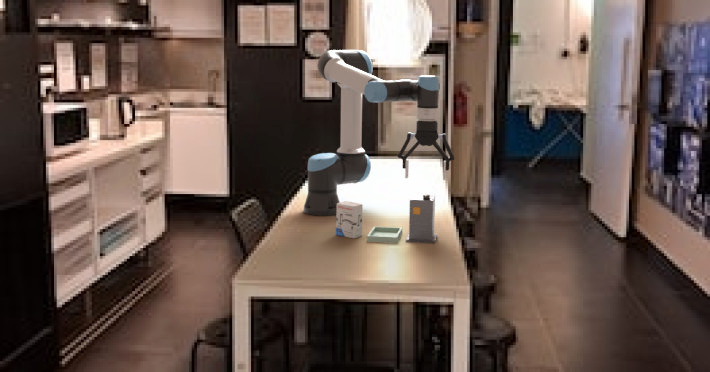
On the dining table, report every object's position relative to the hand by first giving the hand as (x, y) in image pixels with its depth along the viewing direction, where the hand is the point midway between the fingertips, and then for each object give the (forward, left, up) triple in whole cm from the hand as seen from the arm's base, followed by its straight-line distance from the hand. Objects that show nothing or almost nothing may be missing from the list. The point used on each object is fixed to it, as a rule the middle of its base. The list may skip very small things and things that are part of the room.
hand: (425, 178), depth 283 cm
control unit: (0, -11, -20) cm, 23 cm away
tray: (-13, -11, -20) cm, 26 cm away
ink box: (-26, -11, -20) cm, 35 cm away
